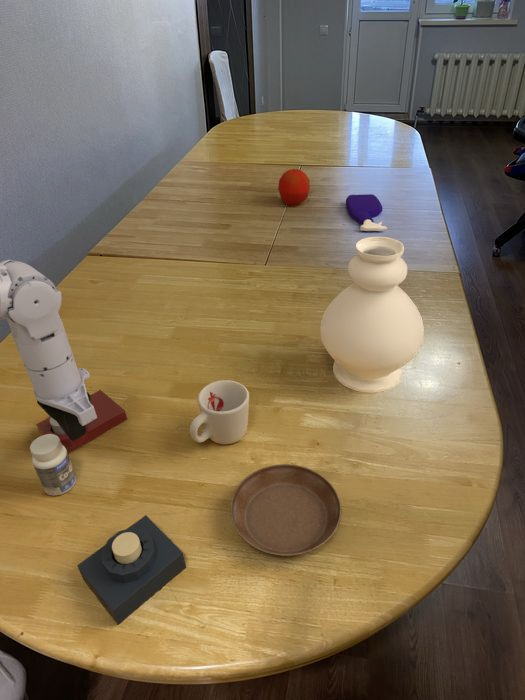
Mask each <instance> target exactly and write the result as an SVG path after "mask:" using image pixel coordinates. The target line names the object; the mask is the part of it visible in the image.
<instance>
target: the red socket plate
mask: <svg viewBox="0 0 525 700" xmlns="http://www.w3.org/2000/svg"><path fill="white" fill-rule="evenodd" d="M90 397H91V401H90V403H91V404H92V405H93V406H94V409H95V412H96V415H97V418H96V419H94V420H93V421H91V422H90V423H87V424H86V434H85V435H83V436H82V437H80V438H78V439H76V440H75V441H72V440H71V439H70V438H69V437H68V436H67V435H66V434H62V435H58V434H55V433H54V432H53V429H52V427H51V424H50V418H51V417H50V416H48V417H47V418H45V419H43V420H42V421H39V422H38V423H36V424H35V425H36V429H37V431H38V434H40V436H43V435H46V434H54V435H56V436H58V437H59V439H60V442H61V444H62V445H63V446H64V447H65V448H66V450H67V453H68V455H69V454H71V453H73V452H74V451H76V450H78V449H80V448H81V447H83V446H84V445H86V444H88V443H90V442H91V441H93V440H95V439H96V438H98V437H100V436H102V435H103V434H105V433H106V432H108V431H109V430H112V429H113V428H115V427H117V426H118V425H120V424H121V423H123V422H125V421H126V420H128V417H127V412H126V410H125V408H123V407H122V406H120V405H119V404H118V403H117V402H116V401H115V400H114V399H112V398H111V397H110V396H109V395H107V394H106V393H105V392H104V391H102V390H101V389H99V390H97V391H96V392H94V393H91V394H90Z"/></svg>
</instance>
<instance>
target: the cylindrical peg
mask: <svg viewBox="0 0 525 700" xmlns="http://www.w3.org/2000/svg"><path fill="white" fill-rule="evenodd" d="M112 551H113V553H114V556H115V559H116V560H117V562H119V563H121V564H130V563H132V562H134V561H136V560H137V559H138V558H139V556H140V554H141V551H142V548H141V544H140V541H139V538H138V536H137V535H136V534H134V533H132V532H126V533H122V534H120V535H119V536H117V537H116V538H115V540H114V541H113V544H112Z"/></svg>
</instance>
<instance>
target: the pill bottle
mask: <svg viewBox="0 0 525 700" xmlns="http://www.w3.org/2000/svg"><path fill="white" fill-rule="evenodd" d="M29 451H30V454H31V455H32V457H31V463H32V465H33V468H34V470H35V472H36V475H37V477H38V479H39V482H40V484H41V487H42V489H43V491H44V492H45V493H46V495H49V496H53V497H54V496H61V495H64V494H66V493H68V492H69V491H71V490H72V489H73V487H74V486H75V484H76V482H77V475H76V472H75V470H74V467H73V464H72V462H71V459H70V456H69V454H68V453H67V450H66V448H65V447H64V446H63V445H62V444H61V442H60V439H59V437H58V436H56V435H54V434H46V435H43V436H42V435H40V436H38V437H36V438H35V439H34V440H33V441H32V442H31V444H30V446H29Z"/></svg>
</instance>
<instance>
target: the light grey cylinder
mask: <svg viewBox="0 0 525 700" xmlns="http://www.w3.org/2000/svg"><path fill="white" fill-rule="evenodd" d="M50 424H51V427H52V429H53V432H54V433H55V434H58V435H62V434H65V432H64V431H63V430H62V428H61V427H60V425H59V424H58V423H57V421H56V420H54V419H53V418H50Z"/></svg>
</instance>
